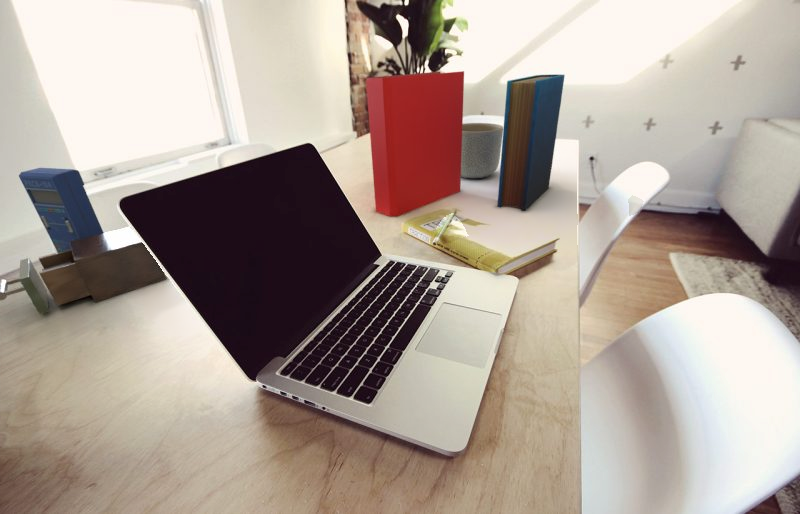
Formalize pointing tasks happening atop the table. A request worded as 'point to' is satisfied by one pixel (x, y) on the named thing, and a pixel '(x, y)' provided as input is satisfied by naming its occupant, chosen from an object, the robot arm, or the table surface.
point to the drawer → (49, 281)
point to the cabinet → (115, 263)
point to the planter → (480, 149)
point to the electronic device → (61, 205)
